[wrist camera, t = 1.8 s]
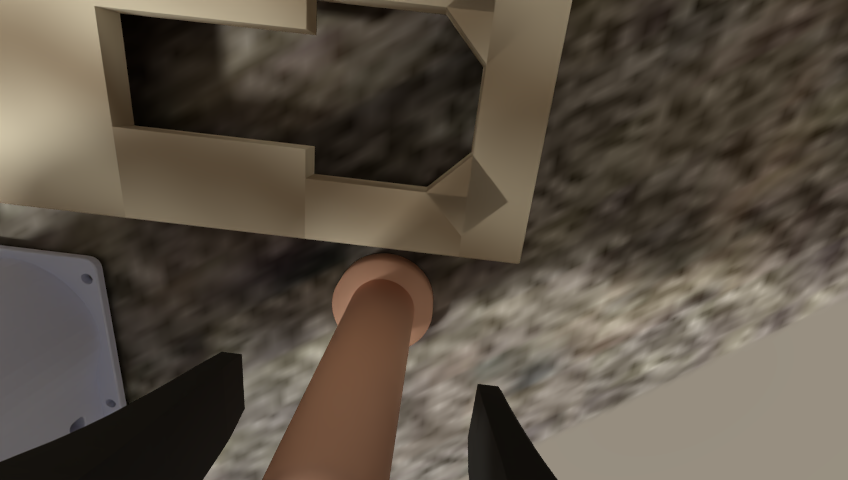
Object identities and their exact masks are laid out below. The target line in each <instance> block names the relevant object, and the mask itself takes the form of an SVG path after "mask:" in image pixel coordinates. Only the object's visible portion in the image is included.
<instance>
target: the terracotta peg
mask: <svg viewBox="0 0 848 480" xmlns="http://www.w3.org/2000/svg"><path fill="white" fill-rule="evenodd" d="M332 310H333V315H334V318H335V320H336V323H337V325H338V326H337V328H336V330H335V332H334V334H333V336H332V338H331V340H330V342H329V345H328V347H327V349H326V351H325V353H324V355H323V357H322V359H321V361H320V363H319V365H318V367H317V369H316V371H315V373H314V375H313V377H312V379H311V381H310V383H309V385H308V387H307V389H306V391H305V393H304V395H303V397H302V399H301V401H300V404H299V406H298V408H297V410H296V412H295V414H294V416H293V418H292V420H291V422H290V424H289V426H288V428H287V430H286V432H285V434H284V436H283V438H282V440H281V442H280V444H279V446H278V448H277V450H276V452H275V454H274V456H273V458H272V460H271V463H270V465H269V467H268V469H267V471H266V473H265V475H264V477H263V479H262V480H389V478H390V471H391V465H392V458H393V451H394V444H395V438H396V431H397V424H398V418H399V411H400V404H401V397H402V391H403V384H404V377H405V371H406V364H407V357H408V350H409V346H411V345H413V344H414V343H416V342H417V341H418V340H419V339H420V338H421V337H422V336H423V335H424V334H425V332H426V331H427V329H428V327H429V325H430V323H431V319H432V314H433V291H432V287H431V284H430V282H429V280H428V278H427V276H426V275H425V273H424V272H423V271H422V270H421V269H420V268H419V267H418V266H417V265H416V264H414V263H413V262H411V261H410V260H408V259H406V258H404V257H401V256H398V255H395V254H389V253H378V254H372V255H368V256H365V257H363V258H361V259H359V260H357V261H356V262H354V263H353V264H352V265H351V266H349V268H348V269H347V270H346V271H345V273H344V274H343V276H342V278H341V279H340V281H339V282H338V284H337V286H336V288H335V290H334V294H333V299H332Z"/></svg>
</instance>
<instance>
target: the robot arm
mask: <svg viewBox="0 0 848 480" xmlns="http://www.w3.org/2000/svg"><path fill="white" fill-rule="evenodd" d="M89 275H90V276H91V277H92V279H93V280H92V279H91V278H90V277H89ZM244 409H245V406H244V388H243V369H242V354H235V353H227V352H221V353H219V354H217V355H215V356H213V357H212V358H210V359H208V360H206V361H205V362H203V363H201V364H199V365H198V366H196V367H194V368H193V369H191V370H189V371H187V372H186V373H184V374H182V375H181V376H179V377H177V378H175V379H174V380H172V381H170V382H168V383H167V384H165V385H163V386H161V387H160V388H158V389H156V390H154V391H153V392H151V393H149V394H147V395H145V396H143V397H142V398H140V399H138V400H136V401H134V402H132V403H130V404H128V405H126V399H125V393H124V388H123V382H122V376H121V371H120V365H119V359H118V354H117V348H116V342H115V337H114V331H113V325H112V319H111V314H110V308H109V302H108V297H107V291H106V285H105V280H104V274H103V268H102V265H101V263H100V262H99V260H98V259H96V258H95V257H92V256H88V255H79V254H71V253H62V252H54V251H46V250H37V249H29V248H20V247H12V246H4V245H0V480H203V479H204V477H205V476H206V474H207V473H208V471H209V470H210V468H211V467H212V465H213V464H214V462H215V461H216V459H217V457H218V456H219V454H220V453H221V451H222V450H223V448H224V447H225V445H226V444H227V442H228V440H229V439H230V437H231V435H232V433H233V431H234V429H235V427H236V425H237V423H238V421H239V419H240V417H241V415H242V413H243V411H244ZM468 473H469V480H557V478H556V477H555V476H554V474H553V473H552V472H551V470H550V469H549V467H548V466H547V465H546V463H545V462H544V461H543V459H542V458H541V456H540V455H539V453H538V452H537V450H536V449H535V447H534V446H533V444H532V442H531V441H530V439H529V438H528V436H527V435H526V433H525V432H524V430H523V428H522V427H521V425H520V423H519V422H518V420H517V418H516V417H515V415H514V413H513V411H512V410H511V408H510V406H509V404H508V402H507V401H506V399H505V397H504V395H503V393H502V391H501V390H500V388H499V387H498V386H490V385H482V384H478V385H477V391H476V396H475V402H474V407H473V413H472V418H471V424H470V429H469V434H468Z"/></svg>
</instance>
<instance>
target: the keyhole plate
mask: <svg viewBox="0 0 848 480" xmlns="http://www.w3.org/2000/svg"><path fill="white" fill-rule="evenodd" d="M317 1H325V2H334V3H343V4H352V5H362V6H371V7H380V8H389V9H398V10H407V11H416V12H425V13H435V14H444V15H447V16H448V18H449V19H450V21H451V22H452V24H453V25H454V26H455V28H456V29H457V31H458V32H459V34H460V35H461V36H462V38H463V39H464V41H465V42H466V44H467V45H468V46H469V48H470V49H471V51H472V52H473V53H474V55H475V56H476V58H477V59H478V61H479V62H480V63H481V65H482V66H483V74H482V81H481V88H480V95H479V102H478V109H477V115H476V122H475V129H474V136H473V143H472V150H471V153H470V154H468V155H467V156H466V157H465V158H463V159H462V160H461V161H459V162H458V163H457V164H456V165H454V166H453V167H452V168H451V169H449V170H448V171H447V172H446V173H444V174H443V175H442V176H440V177H439V178H438V179H437V180H435V181H434V182H433V183H432V184H430V185H429V186H428V187H424V186H415V185H406V184H398V183H389V182H380V181H372V180H363V179H354V178H346V177H337V176H328V175H320V174H314V166H315V146H309V145H300V144H291V143H282V142H274V141H265V140H256V139H247V138H239V137H230V136H221V135H212V134H204V133H195V132H186V131H177V130H169V129H160V128H151V127H143V126H134V118H133V111H132V103H131V95H130V88H129V80H128V72H127V65H126V57H125V49H124V41H123V34H122V26H121V18H120V13H121V14H130V15H139V16H148V17H157V18H166V19H175V20H184V21H193V22H202V23H211V24H220V25H229V26H238V27H248V28H257V29H266V30H275V31H284V32H293V33H302V34H311V35H316V32H317ZM571 5H572V0H0V203H5V204H14V205H22V206H31V207H39V208H48V209H56V210H65V211H73V212H82V213H90V214H99V215H107V216H116V217H124V218H133V219H141V220H150V221H158V222H167V223H175V224H184V225H192V226H201V227H209V228H218V229H226V230H235V231H243V232H252V233H260V234H269V235H277V236H286V237H294V238H303V239H311V240H320V241H328V242H337V243H345V244H354V245H362V246H371V247H379V248H388V249H396V250H405V251H413V252H422V253H430V254H439V255H447V256H456V257H464V258H473V259H481V260H490V261H498V262H507V263H515V264H519V263H520V258H521V253H522V248H523V243H524V238H525V233H526V228H527V223H528V218H529V213H530V208H531V203H532V198H533V193H534V188H535V183H536V178H537V173H538V169H539V164H540V159H541V154H542V149H543V144H544V139H545V134H546V129H547V124H548V119H549V114H550V109H551V104H552V99H553V94H554V89H555V84H556V79H557V74H558V69H559V64H560V59H561V54H562V49H563V44H564V39H565V34H566V29H567V24H568V19H569V14H570V10H571Z"/></svg>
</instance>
